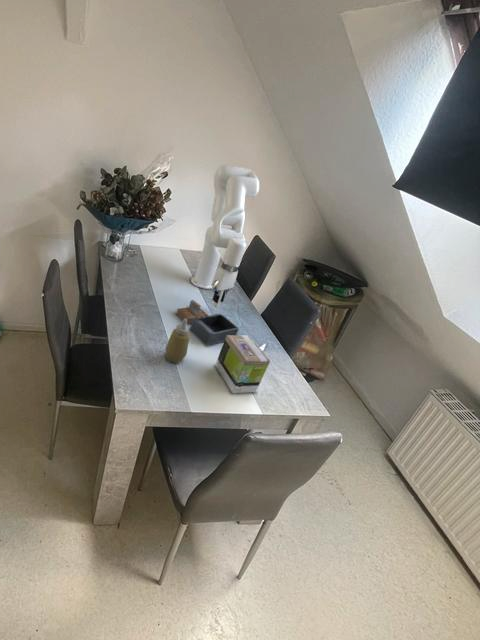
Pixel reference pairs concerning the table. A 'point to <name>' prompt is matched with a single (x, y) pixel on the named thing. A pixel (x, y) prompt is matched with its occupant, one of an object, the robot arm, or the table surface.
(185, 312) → the tap block
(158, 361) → the table surface
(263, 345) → the unicorn horn
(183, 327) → the squeeze bottle
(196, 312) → the tap handle
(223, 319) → the sink basin
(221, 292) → the marker
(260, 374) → the tea box
